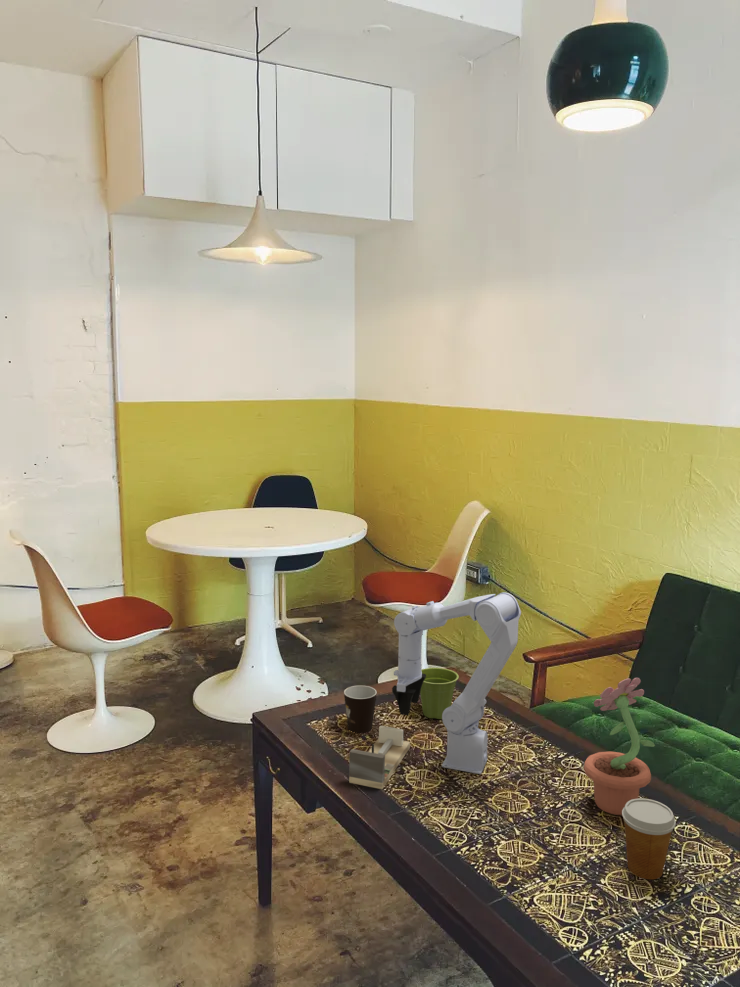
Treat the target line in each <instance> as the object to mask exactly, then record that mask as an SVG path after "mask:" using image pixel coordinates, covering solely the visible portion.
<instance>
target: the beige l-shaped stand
mask: <svg viewBox="0 0 740 987" xmlns="http://www.w3.org/2000/svg"><path fill="white" fill-rule="evenodd" d="M373 744H374V753H372V747H370V749H369V751H365V750H359V749H355V748H354V749H353V748H351V749H350V751H349V753H348V754H349V755H348V756H349V760H348V762H349V766H348V768H349V770H348V772H349V775H348V777H349V779H348V781H349V784H355V785H360V786H364V787H369V788H374V789H379V790H383V789H384V787H385V786H386V784H387V783H388V781H389V780H390V778H391V777H392V776H393V774H394V772H395V771H396V770H397V768H398V766H399V765H400V763H401V762H402V760H403V758H404V757H405V756H406V754H407V753H408V751H409V750H410V748H411V741H408V740H403V746H396V745H392V746H391V747H390V748H389V750H388V751H387V753H386V754H385V755H382V754H378V752H379V750H380V749H381V748H382V746H383V745H384V744H385V743H380V742H379V737H378V738H377V740H376V741H375V743H373ZM385 770H389V771H390V772H386V771H385Z"/></svg>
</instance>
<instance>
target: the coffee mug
mask: <svg viewBox="0 0 740 987" xmlns="http://www.w3.org/2000/svg"><path fill="white" fill-rule="evenodd" d="M377 692H378V691H377V690H376V689H375V688H374V687H372V686H369V685H352V686H348V687H347V688H346V689H344V690H343V696H344V704H345V712H346V722H347V728H348V731H349V730H350V731H349V732H351V731H352V732H351V733H353V732H355V733H354V734H360V733H361V734H367V733H370V732H371V731H372V730H373V725H374V724H373V723H374V716H375V709H376V708H375V707H376V702H377ZM366 732H367V733H366Z"/></svg>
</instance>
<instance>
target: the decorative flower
mask: <svg viewBox="0 0 740 987" xmlns="http://www.w3.org/2000/svg"><path fill="white" fill-rule="evenodd" d="M641 682H642V681H641V679H640V677H634V678H633V679H631V678H625V679H623V680H621V681H620V682H618V683H617V688H615V689H614V688H613V687H611V686H609V687H606V688H605V689H604V690H603V691H601V694H600V695H599V696H600V699H599V698H597V699H595V700H594V701H593V706H594V707H595V708H597V707H600V708H599V710H600V711H603V712H606V711H612V710H616V709H619V710H620V714H621V716H622V720H623V721H622V722H619V723H618V724H617V725H615V726H614V728H612V730H610V733H609V736H613V735H616V734H617V733H619V732H620V731H622V730H623V728H624V726H625V727H626V729H627V732H628V734H629V737H630V742H631V744H630V748H629V751H628V752H626V753H623V752H618V751H617V752H616V751H598V752H596V753H593V754H590V755H588V756H587V758H586V760H585V761H584V765H583V771H584V774H585V775H586V777H588V778H589V780H591V781H593V794H594V796H593V797H594V798H593V799H594V803H595V804H596V806H597V807H598V808H599V809H600V810H601V811H603V812H605V813H607V814H611V815H615V816H622V810H623V808H624V807H625V805H626V803H627V802H628V801H630V800H632V799H638V798H639V796H640V789H641V788H645V787H647V785H649V783H650V782H651V780H652V774H651V770H650V768H649V766H648V764H646V763H645V762H644V761H643V760H641V759H639V758H638V757H637V756H638V754H639V751H640V746H641V745H642V746H644V747H650V748H651V747H656V745H655V743H654V742H653V741H652V740H648V739H640V735H639V733H638V730H637V728H636V725H635V723H634V720H633V717H632V714H631V712H630V709H629V706H630V705H634V704H635V703H637V699H636V697H640V698H641V697H643V696H644V694H645V690H644V689H642V688H641V689H636V688H637V687H638V686H639V685H640V684H641ZM635 689H636V690H635Z"/></svg>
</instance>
